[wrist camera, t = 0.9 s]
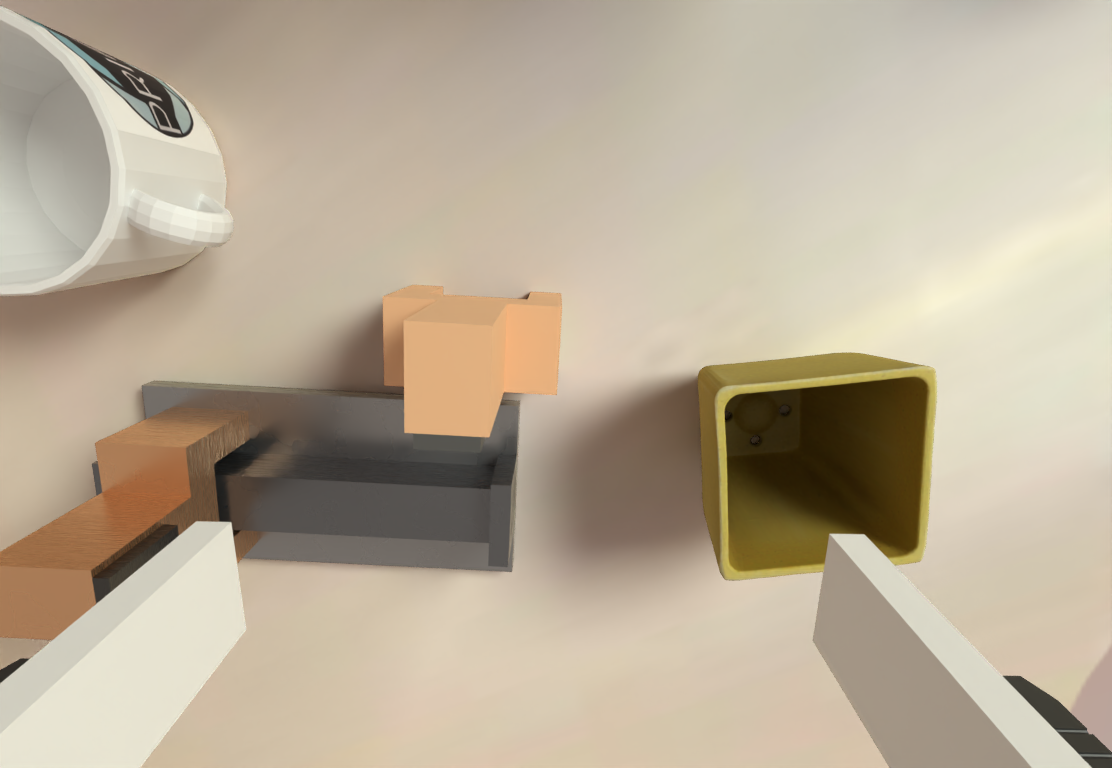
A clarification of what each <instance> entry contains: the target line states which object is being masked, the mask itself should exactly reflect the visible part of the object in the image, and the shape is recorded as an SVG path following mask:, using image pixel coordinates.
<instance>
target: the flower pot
mask: <svg viewBox="0 0 1112 768" xmlns="http://www.w3.org/2000/svg"><path fill="white" fill-rule="evenodd" d="M698 393H699V411H700V431H701V461H702V499H703V509H704V515H705V518H706V522H707V526H708V530H709V534H710V537H711V541H712V544H713V548H714V552H715V555H716V559H717V563H718V566H719V570H720V573H721V575H722V576H723V578H724V579H725V580H732V581H734V580H747V579H756V578H766V577H777V576H785V575H793V574H805V573H816V572H824V565H825V559H826V553H827V546H828V540H829V534H865V536H866V537H867V538H868V539H869V540H870V541H871V542H872V543H873V544H874V545H875V546H876V547H877V548H878V549H879V550H880V551H881V552H882V553H883V554H884V555H885V556H886V557H887V558H888V559H889V560H890V561H891V562H892V563H893V564H894V565H895V566H896V565H903V564H910V563H916V562H920V561H921V560H922V558H923V556H924V552H925V548H926V540H927V531H928V518H929V500H930V486H931V470H932V453H933V441H934V425H935V415H936V403H937V380H936V372H935V369H934V368H932V367H929V366H923V365H918V364H913V363H908V362H903V361H898V360H893V359H888V358H883V357H877V356H872V355H867V354H861V353H831V354H823V355H814V356H805V357H796V358H788V359H779V360H768V361H758V362H747V363H736V364H724V365H712V366H706V367H704V368H702V369H701V370H700V371H699V374H698ZM783 405H787V406H789V412H788V413H787V414H781V413H780V412H779V409H780V407H781V406H783ZM724 411H729V412H730V413H731V417H730V418H729V419H728V420H725V413H724ZM755 435H758V436H759V437H760V441H759V443H758V444H752V443H751V441H750V440H751V438H752V437H753V436H755Z"/></svg>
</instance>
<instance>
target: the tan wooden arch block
mask: <svg viewBox="0 0 1112 768" xmlns="http://www.w3.org/2000/svg"><path fill="white" fill-rule="evenodd" d="M561 316H562V299H561V293H544V292H530V295H529V297H528V299H511V298H493V297H476V296H458V295H443V287H440V286H423V285H411V286H408V287H406V288H403V289H401V290H398V291H396V292H393V293H391V294H388V295H386V296H383V347H384V386H401V387H404V433H413V449H418V450H436V451H455V452H473V453H480V452H481V450H482V447H483V444H484V441H485V438H486V437H490V434H491V430H492V427H493V424H494V421H495V418H496V415H497V412H498V409H499V406H500V402H501V399H502V396H503V393H504V392H510V393H528V394H546V395H557V383H558V366H559V349H560V332H561Z"/></svg>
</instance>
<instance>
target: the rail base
mask: <svg viewBox="0 0 1112 768" xmlns="http://www.w3.org/2000/svg"><path fill="white" fill-rule="evenodd" d="M142 391H143V399H144V407H145V415H146V419H145V420H143V421H141V422H139V423H137V424H135V425H132V426H130V427H128V428H126V429H124V430H122V431H119V432H117V433H115V434H113V435H111V436H109V437H107V438H104V439H102V440H100V441H98V442H96V443H95V446H96V453H97V460H98V461H96V462H94V463H92V467H93V474H94V480H95V487H96V494H97V496H95V497H94V498H92V499H90V500H89V501H87V502H85V503H83V504H82V505H80V506H78V507H76V508H75V509H73V510H71V511H70V512H68V513H66V514H64V515H63V516H61V517H59V518H58V519H56V520H54V521H52V522H51V523H49V524H47V525H46V526H44V527H42V528H40V529H39V530H37V531H35V532H33V533H32V534H30V535H28V536H27V537H25V538H23V539H21V540H20V541H18V542H16V543H15V544H13V545H11V546H9V547H8V548H6V549H4V550H2V551H1V552H0V637H5V638H26V639H46V640H53V639H55V638H56V637H57V636H58V635H59V634H61V633H62V632H63V631H64V630H66V629H67V628H68V627H69V626H70V625H72V624H73V623H74V622H75V621H76V620H78V619H79V618H80V617H81V616H82V615H84V614H85V613H86V612H87V611H89V610H90V609H91V608H92V607H93V606H95V605H96V604H97V603H98V602H99V601H101V600H102V599H103V598H104V597H105V596H107V595H108V594H109V593H110V592H111V591H113V590H114V589H115V588H116V587H118V586H119V585H120V584H121V583H122V582H124V581H125V580H126V579H127V578H128V577H130V576H131V575H132V574H133V573H134V572H136V571H137V570H138V569H139V568H141V567H142V566H143V565H144V564H145V563H147V562H148V561H149V560H150V559H151V558H153V557H154V556H155V555H156V554H157V553H159V552H160V551H161V550H162V549H163V548H165V547H166V546H167V545H168V544H170V543H171V542H172V541H173V540H174V539H176V538H177V537H178V536H179V535H180V534H182V533H183V532H184V531H185V530H186V529H188V528H189V527H190V526H191V525H193V524H194V523H195V522H196V521H205V522H231V524H232V531H233V538H234V545H235V552H236V559H237V563H238V562H239V561H240V560H241V559H242V558H250V559H270V560H290V561H309V562H329V563H348V564H368V565H387V566H407V567H427V568H446V569H466V570H485V571H505V572H512V567H513V554H514V531H515V508H516V485H517V462H518V439H519V416H520V401H512V400H501V402H500V406H499V409H498V412H497V415H496V418H495V421H494V424H493V427H492V430H491V434H490V437H486V438H485V441H484V444H483V447H482V450H481V452H480V453H473V452H455V451H436V450H418V449H413V433H404V395H403V394H385V393H367V392H349V391H331V390H313V389H294V388H276V387H258V386H240V385H222V384H204V383H185V382H167V381H152V382H150V383H147V384H144V385H142Z"/></svg>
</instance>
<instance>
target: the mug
mask: <svg viewBox="0 0 1112 768" xmlns="http://www.w3.org/2000/svg"><path fill="white" fill-rule="evenodd" d="M226 188H227V181H226V175H225V169H224V164H223V158H222V154H221V152H220V150H219V147H218V145H217V143H216V140H215V138H214V135H213V133H212V131H211V129H210V127H209V126H208V125H207V123H206V122H205V120H204V119H203V118H202V116H201V115H200V114H199V112H198V111H197V109H196V108H195V107H194V105H193V104H192V103H190V102H189V101H188V100H187V99H186V98H185V97H184V96H183V95H181V94H180V93H179V92H178V91H177V90H176V89H175V88H173V87H172V86H171V85H169V84H168V83H166V82H164V81H162V80H160V79H158V78H156V77H154V76H152V75H151V74H149V73H147V72H145V71H143V70H141V69H138V68H136V67H134V66H132V65H130V64H127V63H125V62H123V61H121V60H119V59H116V58H114V57H112V56H110V55H108V54H106V53H103V52H101V51H99V50H97V49H95V48H92V47H90V46H88V45H86V44H84V43H81V42H79V41H77V40H75V39H73V38H70V37H68V36H66V35H64V34H62V33H60V32H57V31H55V30H53V29H51V28H49V27H46V26H44V25H42V24H40V23H38V22H35V21H33V20H31V19H29V18H27V17H25V16H22V15H20V14H18V13H16V12H14V11H11V10H9V9H7V8H5V7H3V6H0V296H29V295H41V294H47V293H52V292H57V291H63V290H68V289H74V288H79V287H85V286H90V285H96V284H101V283H107V282H112V281H118V280H123V279H128V278H134V277H139V276H145V275H150V274H156V273H161V272H164V271H167V270H170V269H173V268H176V267H180V266H183V265H184V264H185V263H187V262H188V261H190V260H191V259H192V258H194V257H195V256H197V255H198V254H199V253H201V252H202V251H203V250H204V248H205V247H219V246H222V245H223V244H224V243H226V242H227V241H228V240H230V238H231V235H232V233H233V231H234V220H233V218H232V216H231V214H230V212H229V211H228V210H227V209H226V208H225V200H226Z"/></svg>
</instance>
